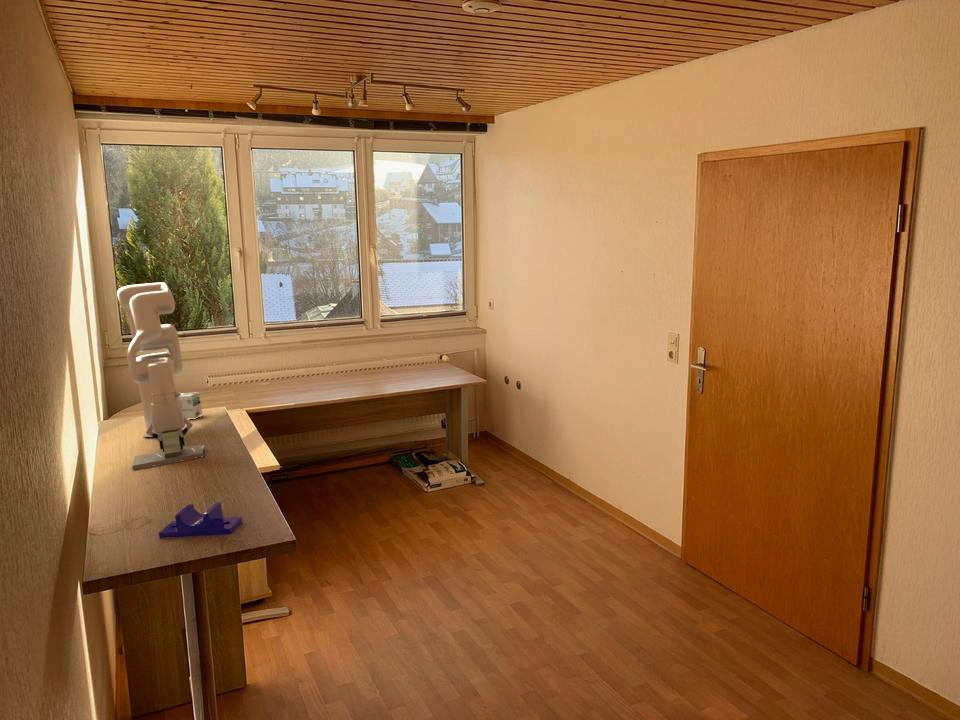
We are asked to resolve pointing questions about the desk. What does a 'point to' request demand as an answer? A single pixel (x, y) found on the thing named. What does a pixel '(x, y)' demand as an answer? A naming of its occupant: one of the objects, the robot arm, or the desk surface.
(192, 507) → the mounting bracket
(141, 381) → the robot arm
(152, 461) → the board
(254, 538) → the desk surface
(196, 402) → the light bulb box
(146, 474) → the desk surface
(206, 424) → the desk surface
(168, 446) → the block
